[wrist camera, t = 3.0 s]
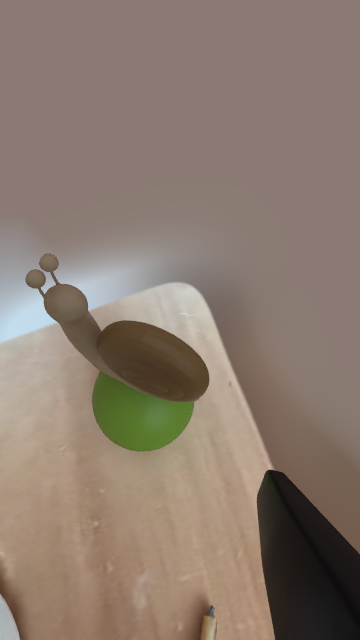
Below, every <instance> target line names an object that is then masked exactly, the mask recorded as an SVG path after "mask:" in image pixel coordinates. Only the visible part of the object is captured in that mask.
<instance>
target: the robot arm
mask: <svg viewBox="0 0 360 640" xmlns="http://www.w3.org/2000/svg"><path fill="white" fill-rule="evenodd" d="M257 509H258V521H259V533H260V545H261V557H262V567H263V573H264V579H265V585H266V590H267V596H268V602H269V607H270V613H271V618H272V624H273V629H274V635H275V640H360V554H359V553H358V552H357V551H356V550H355V549H354V548H353V547H352V546H351V545H350V544H349V542H348V541H347V540H346V539H345V538H344V537H343V536H342V535H341V534H340V533H339V532H338V531H337V530H336V529H335V528H334V527H333V525H332V524H331V523H330V522H329V521H328V520H327V519H326V518H325V517H324V516H323V515H322V514H321V513H320V512H319V511H318V509H317V508H316V507H315V506H314V505H313V504H312V503H311V502H310V501H309V500H308V499H307V498H306V497H305V495H303V493H302V492H301V491H300V490H299V489H298V488H297V487H296V486H295V485H294V484H293V483H292V482H291V481H290V480H289V479H288V478H287V476H286V475H285V474H284V473H282V472H278V471H274V470H267V471H266V473H265V475H264V478H263V481H262V483H261V486H260V489H259V492H258V495H257Z"/></svg>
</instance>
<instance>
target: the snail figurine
mask: <svg viewBox="0 0 360 640" xmlns="http://www.w3.org/2000/svg"><path fill="white" fill-rule="evenodd" d="M39 265H40V267H41V269H43V270H44V271H47V272H50V273H51V275H52V277H53V279H54V281H55V283H56V285H55V286H53V287H51V288H50V289H48V290H47V292H46V293H45V294H44V293H43V292H42V290H41V288H40V287H42V286H43V285H44V284H45V281H46V277H45V275H44V273H43V272H41V271H40V270H31V271H30V272H28V274H27V276H26V283H27V285H28V286H30V287H32V288H38V290H39V292H40V293H41V295H42V296H43V298H44V306H45V309H46V311H47V313H48V314H49V315H50V316H51V317H52V318H53V319H54V320H55V321H57V322H58V323H59V324H60V325H61V327H62V329H63V331H64V333H65V335H66V336H67V338H68V339H69V341H70V342H71V343H72V344H73V346H74V347H75V348H76V349H77V350H78V351H79V352H80V353H81V354H82V355H83V356H84V357H85V358H86V359H88V360H89V361H90V362H91V363H92V364H93V365H94V366H95V367H96V368H97V369H99V370H100V371H101V372H100V374H99V376H98V378H97V380H96V382H95V386H94V390H93V397H92V403H93V411H94V415H95V418H96V421H97V423H98V425H99V427H100V428H101V430H102V431H103V433H104V434H105V435H106V436H107V437H108V438H109V439H110V440H111V441H113V442H114V443H115V444H117V445H119V446H121V447H123V448H126V449H129V450H133V451H151V450H155V449H158V448H161V447H163V446H165V445H167V444H169V443H170V442H172V441H173V440H175V439H176V438H177V437H178V436H179V435H180V434H181V433H182V431H183V430H184V429H185V427H186V426H187V424H188V422H189V420H190V418H191V415H192V412H193V408H194V401H197V400H198V399H199V398H200V397H201V396H202V395H203V394H204V393H205V391H206V389H207V387H208V385H209V373H208V370H207V367H206V365H205V363H204V361H203V360H202V358H201V357H200V356H199V355H198V354H197V353H196V352H195V351H194V350H193V349H192V348H191V347H190V346H189V345H188V344H186V343H185V342H184V341H182V340H181V339H179V338H178V337H176V336H175V335H173V334H171V333H169V332H167V331H165V330H163V329H161V328H158V327H156V326H153V325H150V324H147V323H143V322H137V321H118V322H115V323H112V324H110V325H109V326H107V327H106V328H105V329H104V330H103V331H101V329H100V327H99V326H98V324H97V323H96V321H95V320H94V318H93V317H92V315H91V314H90V313H89V311H88V303H87V299H86V297H85V295H84V294H83V293H82V292H81V291H80V290H79V289H78V288H76V287H74V286H72V285H68V284H60V283H59V282H58V281H57V279H56V277H55V276H54V273H53V271H54V270H56V269H57V267H58V259H57V258H56V257H55V256H54V255H52V254H45V255H43V256H42V257H41V259H40V262H39Z"/></svg>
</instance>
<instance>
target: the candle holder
mask: <svg viewBox="0 0 360 640" xmlns="http://www.w3.org/2000/svg"><path fill="white" fill-rule="evenodd" d="M0 640H20V636H19V632H18V629H17V626H16V623H15V620H14V618H13V615H12V613H11V611H10V609H9V607H8V605H7V603H6V601H5V600H4V598H3V596H2V595H1V593H0Z"/></svg>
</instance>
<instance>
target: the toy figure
mask: <svg viewBox="0 0 360 640" xmlns="http://www.w3.org/2000/svg"><path fill="white" fill-rule="evenodd" d="M213 613H214V607H213V606H212V605H211V609H210V612H209V614H208V615H207V614H205V615H204V616H203V620H202V627H201V633H200V640H215V636H216V625H217V620H216V617H215V616H214V614H213Z"/></svg>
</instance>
